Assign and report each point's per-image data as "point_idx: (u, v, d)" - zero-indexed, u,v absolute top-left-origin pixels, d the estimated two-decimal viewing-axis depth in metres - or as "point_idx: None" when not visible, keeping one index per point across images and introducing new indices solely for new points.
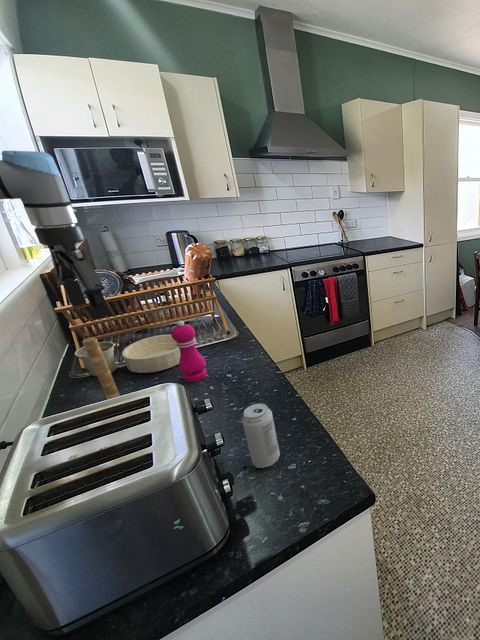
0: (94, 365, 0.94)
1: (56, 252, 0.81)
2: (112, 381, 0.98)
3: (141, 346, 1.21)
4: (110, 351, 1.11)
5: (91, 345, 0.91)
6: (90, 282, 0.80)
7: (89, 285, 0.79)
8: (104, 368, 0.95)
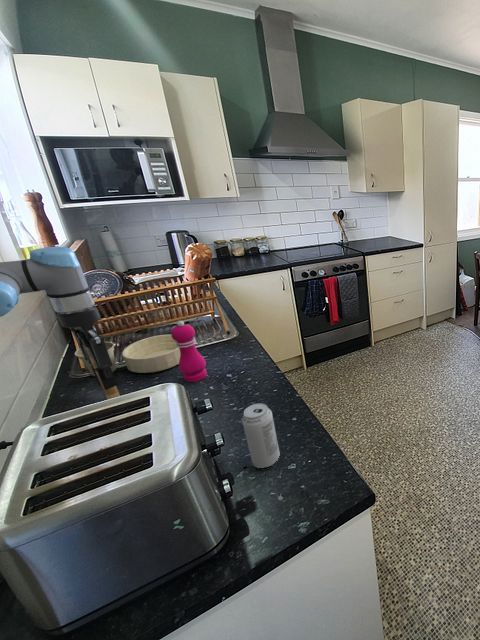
0: (94, 365, 0.94)
1: (75, 331, 0.90)
2: None
3: (141, 346, 1.21)
4: (110, 351, 1.11)
5: None
6: (102, 362, 0.91)
7: (101, 365, 0.91)
8: None
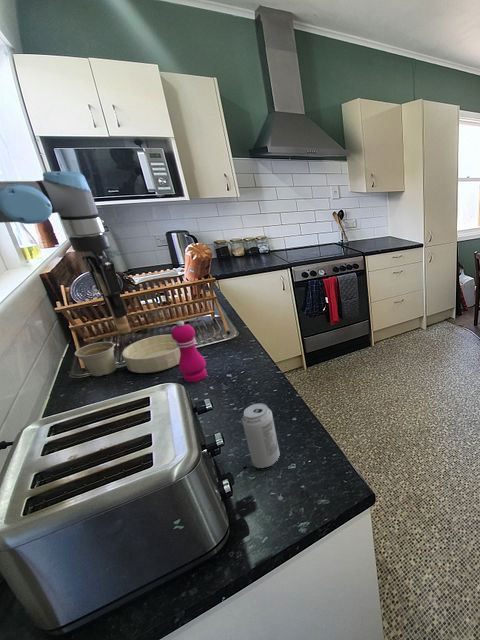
0: (105, 293, 0.97)
1: (87, 257, 0.93)
2: None
3: (141, 346, 1.21)
4: (110, 351, 1.11)
5: None
6: (112, 288, 0.95)
7: (111, 291, 0.95)
8: None
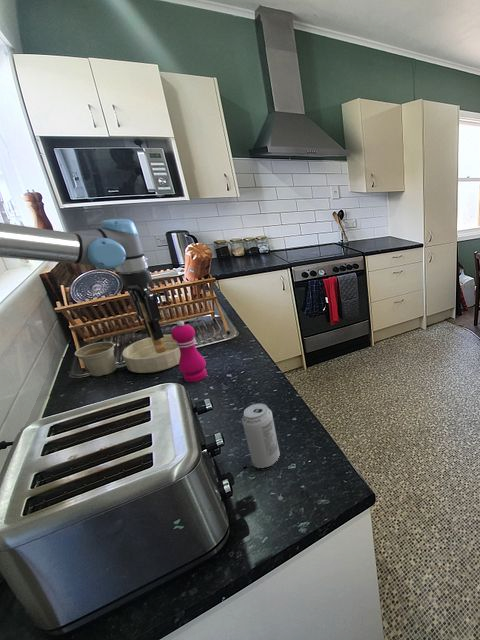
0: (146, 319, 1.13)
1: (132, 289, 1.09)
2: None
3: (141, 346, 1.21)
4: (110, 351, 1.11)
5: None
6: (153, 316, 1.11)
7: (153, 318, 1.11)
8: None
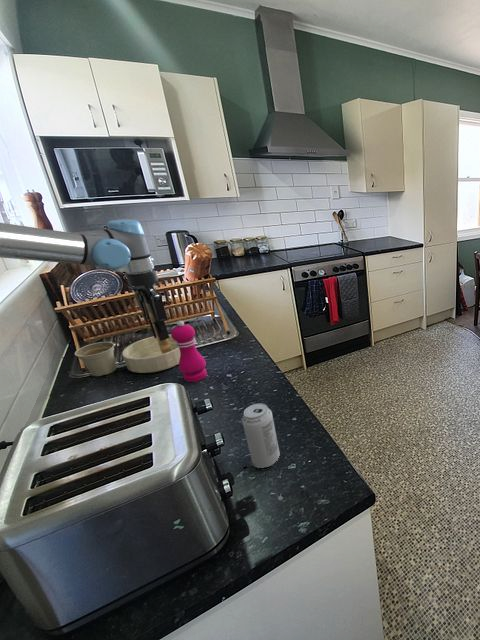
0: (152, 319, 1.13)
1: (138, 290, 1.09)
2: None
3: (141, 346, 1.21)
4: (110, 351, 1.11)
5: None
6: (159, 316, 1.11)
7: (158, 319, 1.11)
8: None
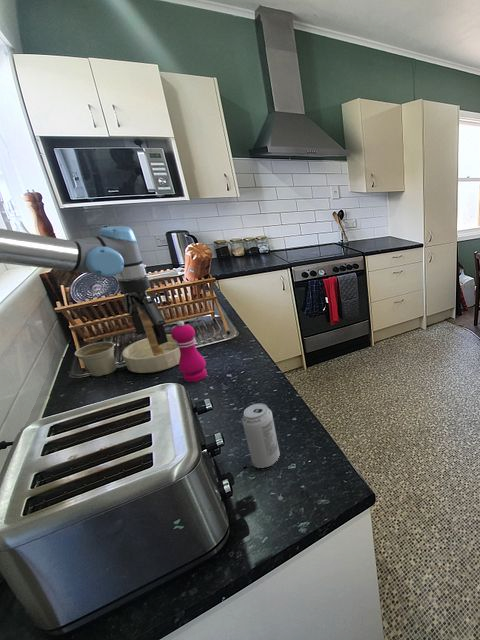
0: (145, 327, 1.13)
1: (131, 296, 1.09)
2: None
3: (141, 346, 1.21)
4: (110, 351, 1.11)
5: None
6: (156, 319, 1.08)
7: (156, 321, 1.08)
8: None
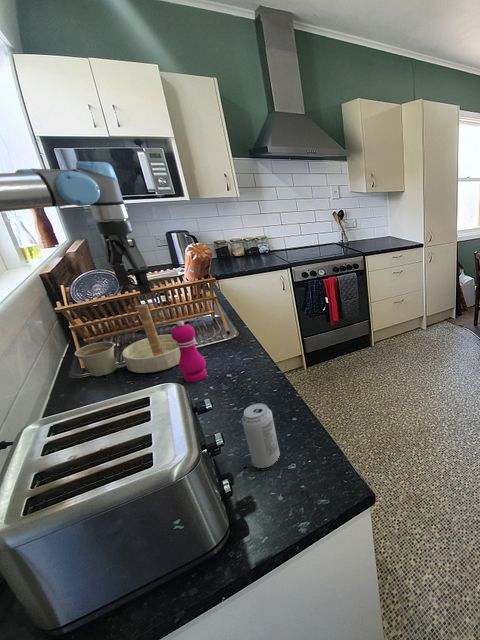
0: (145, 327, 1.13)
1: (111, 241, 1.02)
2: (158, 341, 1.17)
3: (141, 346, 1.21)
4: (110, 351, 1.11)
5: (143, 310, 1.11)
6: (138, 264, 1.01)
7: (138, 267, 1.00)
8: (153, 330, 1.15)
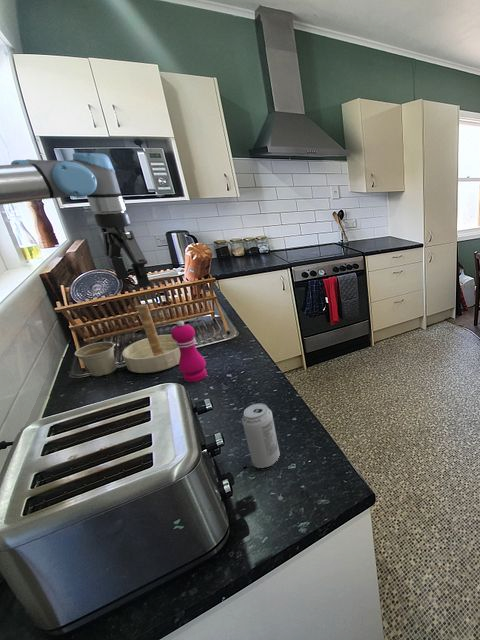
0: (145, 327, 1.13)
1: (109, 233, 1.01)
2: (158, 341, 1.17)
3: (141, 346, 1.21)
4: (110, 351, 1.11)
5: (143, 310, 1.11)
6: (136, 257, 1.00)
7: (136, 259, 1.00)
8: (153, 330, 1.15)
